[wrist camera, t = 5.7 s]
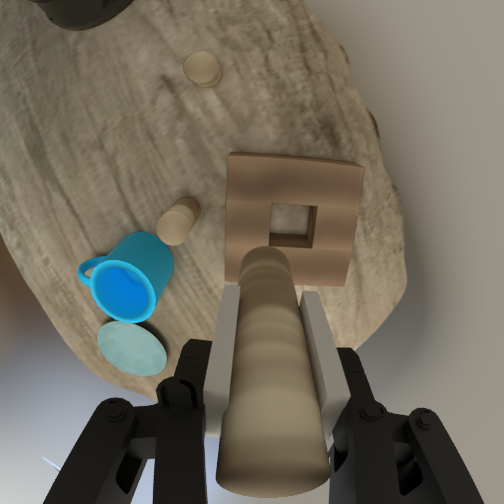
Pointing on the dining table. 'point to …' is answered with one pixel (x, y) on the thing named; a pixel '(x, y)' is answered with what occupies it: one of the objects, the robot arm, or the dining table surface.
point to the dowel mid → (178, 221)
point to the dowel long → (271, 390)
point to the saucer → (131, 348)
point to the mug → (130, 277)
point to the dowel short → (203, 69)
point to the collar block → (293, 192)
